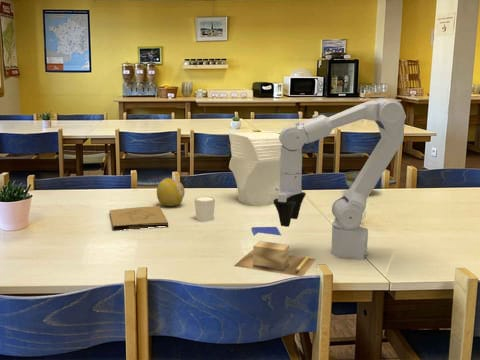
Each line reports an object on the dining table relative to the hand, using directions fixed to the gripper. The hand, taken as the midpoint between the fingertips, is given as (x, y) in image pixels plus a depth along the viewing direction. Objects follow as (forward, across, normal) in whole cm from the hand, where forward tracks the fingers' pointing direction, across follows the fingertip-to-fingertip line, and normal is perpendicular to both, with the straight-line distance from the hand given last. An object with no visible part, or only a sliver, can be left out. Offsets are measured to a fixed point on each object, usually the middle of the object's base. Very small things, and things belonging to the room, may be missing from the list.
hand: (289, 222), depth 146 cm
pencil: (+9, +7, +6) cm, 13 cm away
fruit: (+10, -36, -56) cm, 67 cm away
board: (+10, +8, -1) cm, 13 cm away
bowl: (+10, -83, +5) cm, 84 cm away
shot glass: (+10, -25, -37) cm, 46 cm away
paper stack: (+10, -56, -26) cm, 63 cm away
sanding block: (+9, +11, -1) cm, 14 cm away
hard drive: (+11, -16, -12) cm, 22 cm away
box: (+11, -15, -57) cm, 60 cm away
